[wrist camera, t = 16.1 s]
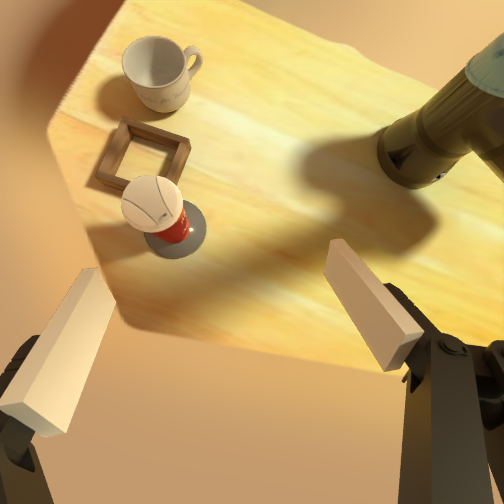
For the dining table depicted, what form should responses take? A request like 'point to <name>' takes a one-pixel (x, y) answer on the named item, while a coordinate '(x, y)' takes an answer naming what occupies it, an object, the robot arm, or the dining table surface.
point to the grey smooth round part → (187, 245)
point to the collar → (147, 132)
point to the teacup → (160, 72)
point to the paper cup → (156, 208)
